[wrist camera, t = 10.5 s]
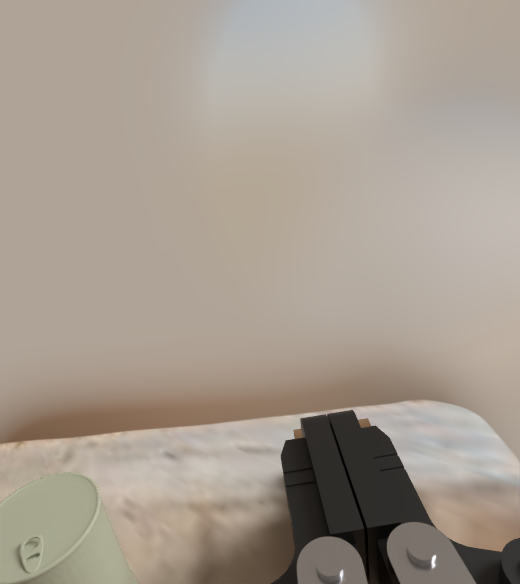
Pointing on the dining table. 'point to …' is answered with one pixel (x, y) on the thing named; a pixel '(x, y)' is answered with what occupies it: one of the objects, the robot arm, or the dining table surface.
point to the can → (59, 535)
